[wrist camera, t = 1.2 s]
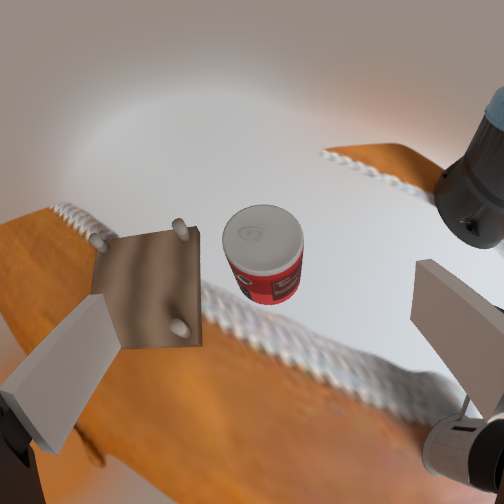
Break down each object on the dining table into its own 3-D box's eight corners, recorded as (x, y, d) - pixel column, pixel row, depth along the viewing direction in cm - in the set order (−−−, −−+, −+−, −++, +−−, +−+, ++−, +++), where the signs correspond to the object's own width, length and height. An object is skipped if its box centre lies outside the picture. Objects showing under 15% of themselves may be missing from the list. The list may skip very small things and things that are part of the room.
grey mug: (422, 485, 24) (484, 518, 11) (416, 385, 30) (484, 374, 17) (476, 462, 23) (546, 475, 10) (470, 368, 30) (544, 345, 16)
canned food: (240, 251, 41) (225, 204, 31) (300, 251, 40) (303, 203, 30) (235, 306, 38) (216, 272, 28) (300, 307, 37) (304, 274, 27)
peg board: (200, 233, 43) (189, 212, 38) (202, 346, 36) (188, 338, 31) (104, 247, 44) (86, 230, 39) (95, 348, 37) (72, 340, 32)
